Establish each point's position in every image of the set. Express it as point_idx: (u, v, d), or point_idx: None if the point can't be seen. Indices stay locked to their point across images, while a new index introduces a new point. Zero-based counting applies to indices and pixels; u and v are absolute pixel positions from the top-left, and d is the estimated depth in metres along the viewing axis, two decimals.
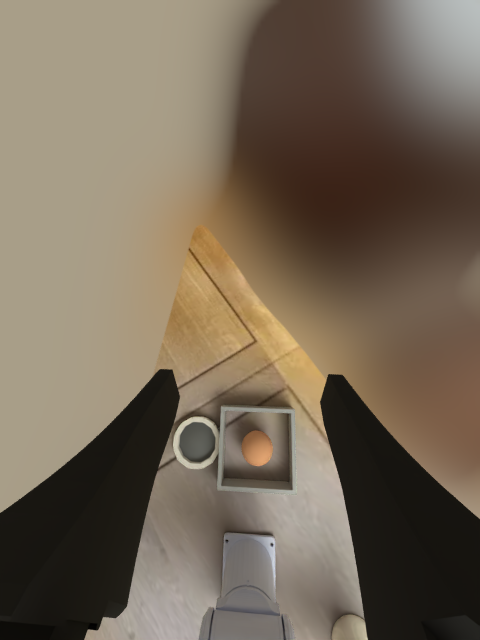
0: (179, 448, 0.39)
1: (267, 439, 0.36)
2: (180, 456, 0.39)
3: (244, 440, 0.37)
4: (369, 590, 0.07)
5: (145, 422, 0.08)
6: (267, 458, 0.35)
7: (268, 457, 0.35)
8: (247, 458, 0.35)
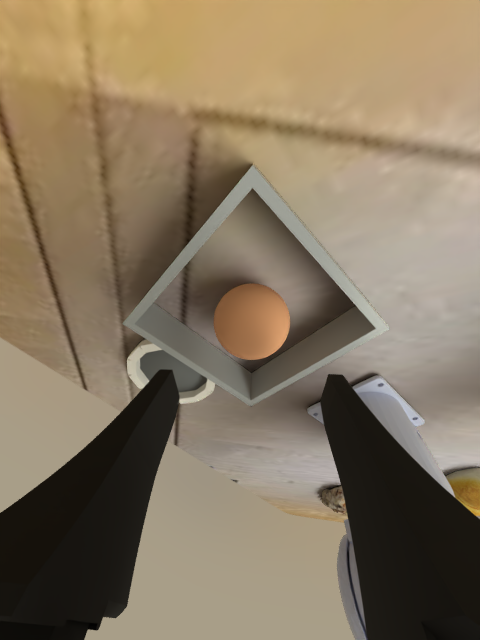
0: None
1: (252, 300, 0.13)
2: None
3: (216, 335, 0.15)
4: (369, 590, 0.07)
5: (145, 422, 0.08)
6: (281, 332, 0.14)
7: (282, 328, 0.14)
8: (247, 359, 0.15)
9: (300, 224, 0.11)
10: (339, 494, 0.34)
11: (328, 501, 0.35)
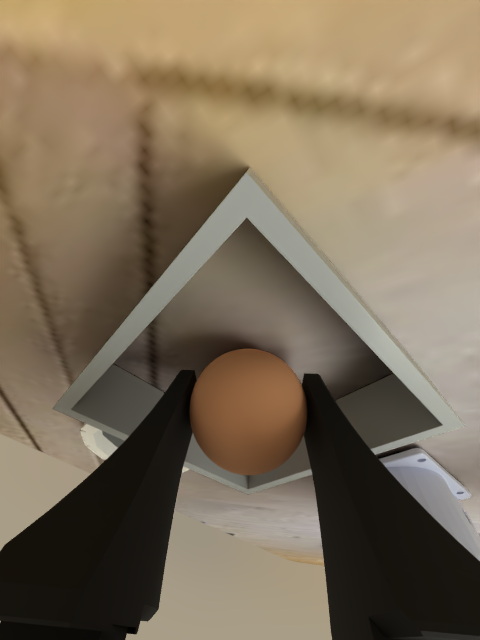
0: None
1: (248, 394, 0.08)
2: None
3: None
4: (332, 587, 0.07)
5: (173, 423, 0.08)
6: (296, 441, 0.08)
7: (297, 435, 0.08)
8: None
9: (337, 282, 0.06)
10: None
11: None
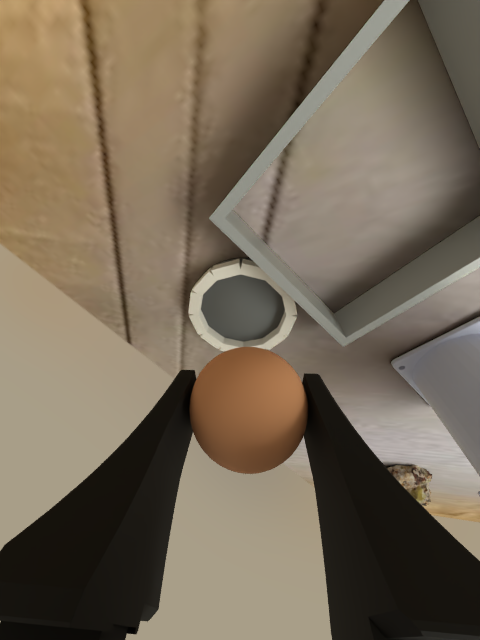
0: (228, 341, 0.20)
1: (249, 392, 0.08)
2: None
3: None
4: (332, 587, 0.07)
5: (173, 423, 0.08)
6: (296, 440, 0.08)
7: (298, 434, 0.08)
8: None
9: None
10: (396, 474, 0.31)
11: None
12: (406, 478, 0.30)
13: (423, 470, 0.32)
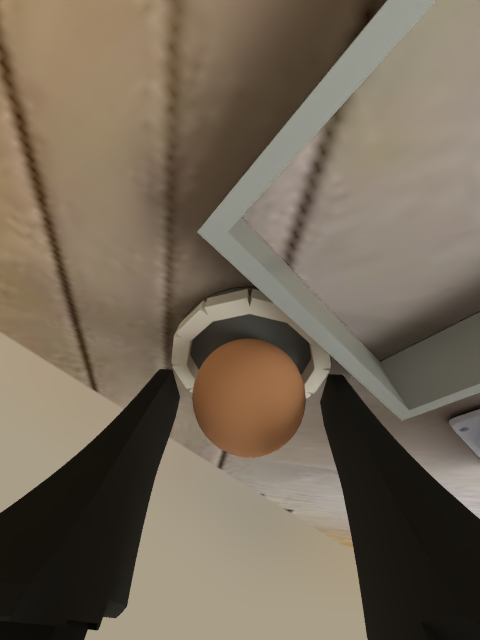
0: None
1: (249, 379, 0.08)
2: None
3: None
4: (369, 590, 0.07)
5: (145, 422, 0.08)
6: (294, 424, 0.09)
7: (296, 418, 0.09)
8: None
9: None
10: None
11: None
12: None
13: None
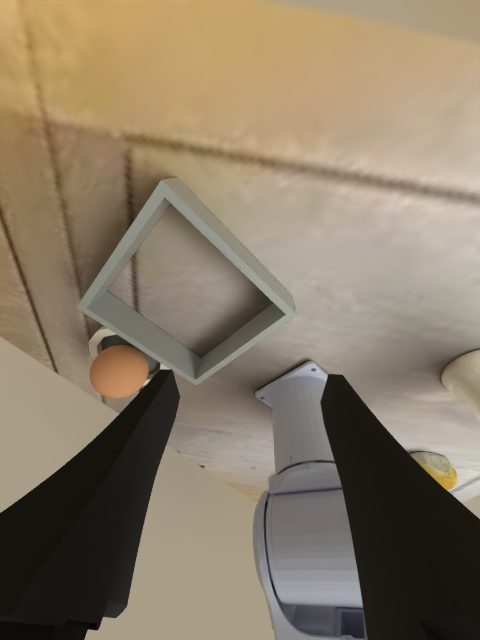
0: None
1: (107, 362, 0.20)
2: None
3: None
4: (369, 590, 0.07)
5: (145, 422, 0.08)
6: (129, 382, 0.20)
7: (130, 380, 0.20)
8: None
9: (206, 226, 0.14)
10: None
11: None
12: None
13: None
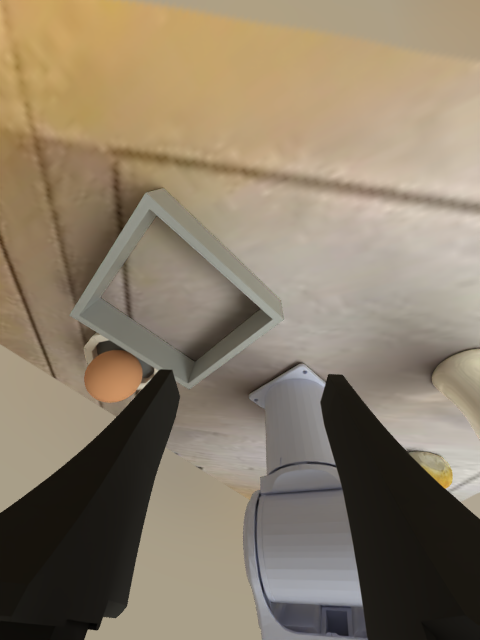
0: None
1: (101, 367, 0.21)
2: None
3: None
4: (369, 590, 0.07)
5: (145, 422, 0.08)
6: (123, 387, 0.21)
7: (123, 384, 0.21)
8: None
9: (191, 235, 0.14)
10: None
11: None
12: None
13: None
